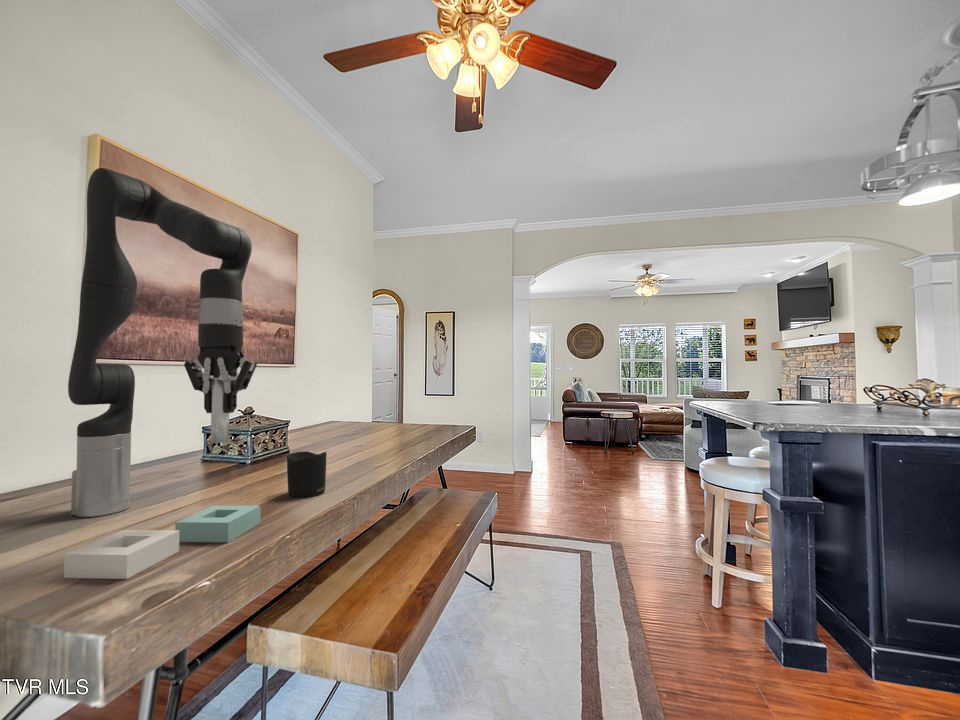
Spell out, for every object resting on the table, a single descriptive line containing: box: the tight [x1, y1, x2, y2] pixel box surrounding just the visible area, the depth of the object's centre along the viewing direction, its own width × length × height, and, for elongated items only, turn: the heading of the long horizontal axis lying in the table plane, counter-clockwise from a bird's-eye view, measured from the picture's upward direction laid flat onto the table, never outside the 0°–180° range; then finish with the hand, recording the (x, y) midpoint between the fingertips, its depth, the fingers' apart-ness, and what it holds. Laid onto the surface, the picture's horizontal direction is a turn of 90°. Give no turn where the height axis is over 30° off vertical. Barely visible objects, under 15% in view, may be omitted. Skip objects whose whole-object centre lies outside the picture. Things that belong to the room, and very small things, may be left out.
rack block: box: [174, 505, 262, 543], centre depth 82 cm, size 10×10×4 cm
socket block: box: [63, 529, 180, 580], centre depth 68 cm, size 10×10×4 cm
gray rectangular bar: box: [210, 379, 230, 444], centre depth 83 cm, size 3×3×12 cm
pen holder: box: [286, 451, 327, 499], centre depth 109 cm, size 9×9×10 cm
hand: (220, 412), depth 83 cm, fingers closed on gray rectangular bar, 3 cm apart
